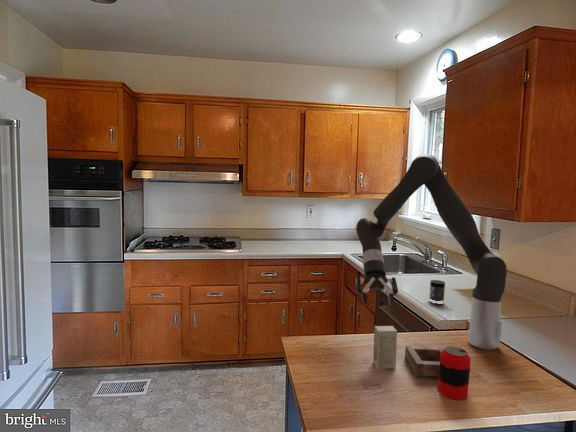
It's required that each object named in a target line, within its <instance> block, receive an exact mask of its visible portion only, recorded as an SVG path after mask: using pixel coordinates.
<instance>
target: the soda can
mask: <svg viewBox="0 0 576 432" xmlns="http://www.w3.org/2000/svg"><path fill="white" fill-rule="evenodd" d="M471 360H472V359H471V357H470V355H469V353H468V352H467V351H466V350H465V349H464V348H461V347H458V346H451V345H450V346H445V347H444V350H442V351H441V355H440V368H439V379H438V382H437V383H438V384H437V390H438V391H439V393H440V394H441V395H442V396H444V397H445V398H447V399H451V400H456V401H458V400H459V401H461V400H465V399H466V398H468V396H469V395H468V394H469V383H470V374H471V372H470V371H471Z"/></svg>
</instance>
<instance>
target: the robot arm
mask: <svg viewBox="0 0 576 432" xmlns="http://www.w3.org/2000/svg"><path fill="white" fill-rule="evenodd" d="M423 185H424V186H425V188H426V189H427V190H428V192H429V193H430V196H431V198H432V201H433V202H434V203H433V204H434V206H435V209H436V210H437V213H438V215H439V217H440V219H441V220H442V222H443V223H444V225H445V227H446V228H447V229H448V230H449V232H450V233H451V235H452V236H453V238H454V239H455V240H456V241H457V243H458V244H459V245H460V246H461V248H462V249H463V251H464V253H465V256H466V257H467V259H468V260H469V264H470V265H471V268H472V270H473V271H474V272H475V274H476V276H477V277H476V282H475V284H476V285H475V287H474V288H473V289H472V292H471V293H472V294H471V295H472V296H471V307H470V308H471V309H470V319H469V331H468V343H469V344H470V345H471V346H473V347H476V348H477V349H483V350H489V351H490V350H491V351H492V350H495V349H500V347H501V339H502V338H501V336H502V327H503V324H502V321H501V320H500V318H501V309H502V308H501V306H502V296H503V295H504V294H505V293H504V292H505V290H506V289H505V288H506V284H507V283H506V282H507V281H506V280H507V272H508V269H507V264H506V262H505V260H503V259H502V258H501V257H499V256H498V255H495V254H494V253H493V252H492V251H491V250H490V249H489V247H488V246H487V244H486V243H485V242H484V240H483V239H482V237H481V235H480V233H479V229H478V227H477V224H476V221H475V219H474V217H473V215H472V213H471V212H470V210H469V208H468V207H467V206H466V204H465V202H464V201H463V200H462V198H461V197H460V196H459V194H458V193H457V192H456V191H455V189H454V188H453V186H452V185H451V183H450V182H449V181H448V179H447V177H446V175H445V173H444V172H443V170H442V167H441V165H440V163H439V161H438V159H437V158H436V157H435V156H434V155H432V154H429V153H421V154H420V155H417V156H416V157H415V158H414V159H413V160H412V161H411V163H410V165H409V168H408V169H407V171H406V173H405V174H404V176H403V177H402V178H401V180H400V181H399V182H398V184H397V185H396V186H395V187H394V188H393V189H392V190H390V192H389V193H388V194H387V195H386V196H385V197H384V198H383V199H382V200H381V201H380V203H379V204H378V205H377V206H376V207H375V209H374V211H373V215H374V217H375V219H376V221H374V220H372V219H370V218H367V217H363V218H360V219H359V220H358V221H357V223H356V226H355V230H356V231H355V232H356V234H357V238H358V240H359V243H360V245H361V248H362V266H363V273H364V274H363V275H364V277H361V276H360V275H357V276H356V279H355V294H358V295H361V301H362V304H363V305H364V306H367V305H368V295H367V293H368V292H369V290H371V291H375V290H376V291H382V292H383V293H385V294H386V295H387V300H388V306H389V307H393V305H394V304H395V299H394V296H397V294H398V292H399V288H398V284H397V280H396V277H394V276H393V277H391V278H388V277H387V274H386V268H385V260H384V255H383V253H382V244H381V241H380V240H379V239H380V238H381V237H383V234H384V232H385V230H386V228H387V226H388V224H389V222H390V221H391V219H393V217H395V215H396V214H397V213H398V212H399V211H400V210H401V209H402V207H403V206H404V205H405V203H406V202H407V201H408V200H409V198H410V197H411V196H412V195H414V193H415V192H416V191H418V189H420V188H421V187H422V186H423ZM363 283H364V284H365V287H364V288H363V289H362V288H361V284H363ZM388 283H389V285H388ZM390 286H391V288H390Z"/></svg>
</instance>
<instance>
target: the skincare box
mask: <svg viewBox="0 0 576 432" xmlns="http://www.w3.org/2000/svg"><path fill="white" fill-rule="evenodd" d="M373 331H374V332H373V357H372V358H373V359H372V362H373V365H374V367H375V368H376V369H377V370H378V369H379V370H381V369H382V370H383V369H386V370H387V369H396V368H397V346H398V345H397V344H398V343H397V341H398V330H397V329H396V328H395V327H394V325H374V330H373Z"/></svg>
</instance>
